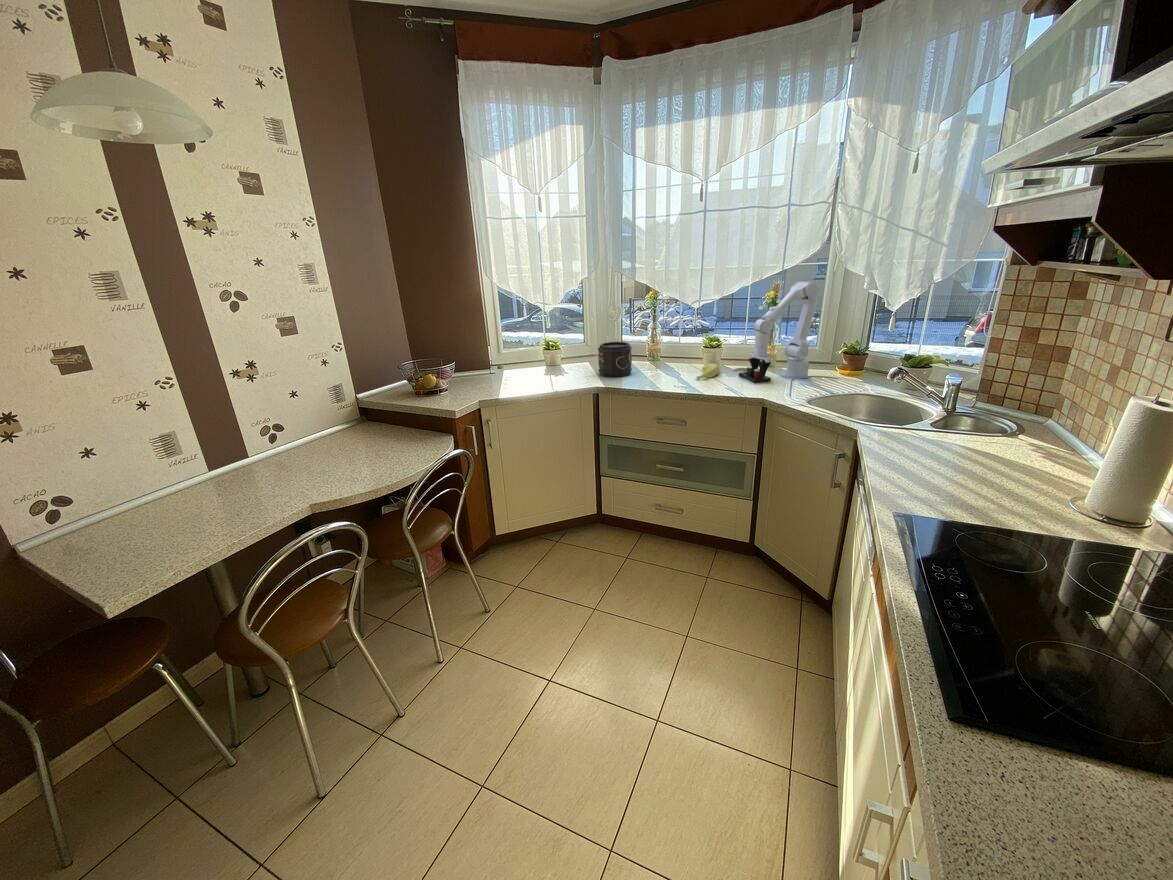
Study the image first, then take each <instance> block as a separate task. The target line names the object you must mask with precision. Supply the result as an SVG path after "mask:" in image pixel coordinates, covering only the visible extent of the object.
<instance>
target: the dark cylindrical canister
mask: <svg viewBox="0 0 1173 880" xmlns="http://www.w3.org/2000/svg"><path fill="white" fill-rule="evenodd" d="M632 349H633V347H632V345H631V344H630V343H629V342H626V341H607V342H602V343H600V345H599V347H598V348H597V351H598V354H597V356H598V361H597V362H598V368H599V369H598V372H599V373H600V375H601V376H602V377H604V378H605V377H606V378H623V377H627V376H629V375H630V374H631V371H633V367H632V362H633V359H632V358H633V355H632Z"/></svg>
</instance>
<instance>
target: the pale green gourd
mask: <svg viewBox="0 0 1173 880" xmlns="http://www.w3.org/2000/svg"><path fill="white" fill-rule="evenodd" d="M719 369H720V368H719V365H718V364H717V363H712V362H711V363H706V364H704V365H703V366H702V368H701V370H702V371H704V372H703V373H702V374H701V375H699V376H697V375H696V381H698V380H700V379H703V378H704V379H711V378H714V377H715V376H716V375H718V374H719V373H720V370H719Z"/></svg>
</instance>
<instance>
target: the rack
mask: <svg viewBox="0 0 1173 880" xmlns="http://www.w3.org/2000/svg"><path fill="white" fill-rule="evenodd" d="M746 374H747V372H740V371H739V372H738V377H739V378H742V379H743V380H746V381H748V382H750V383H752V384H763V383H771V381H772V378H771V377H769V376H767V375H765V376H763V378H758V379H756V378H754V375H746Z"/></svg>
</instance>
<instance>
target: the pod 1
mask: <svg viewBox="0 0 1173 880" xmlns="http://www.w3.org/2000/svg"><path fill="white" fill-rule="evenodd" d="M746 368H747V374H746V375H754V373H752V367H751V365H747V366H746Z"/></svg>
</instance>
